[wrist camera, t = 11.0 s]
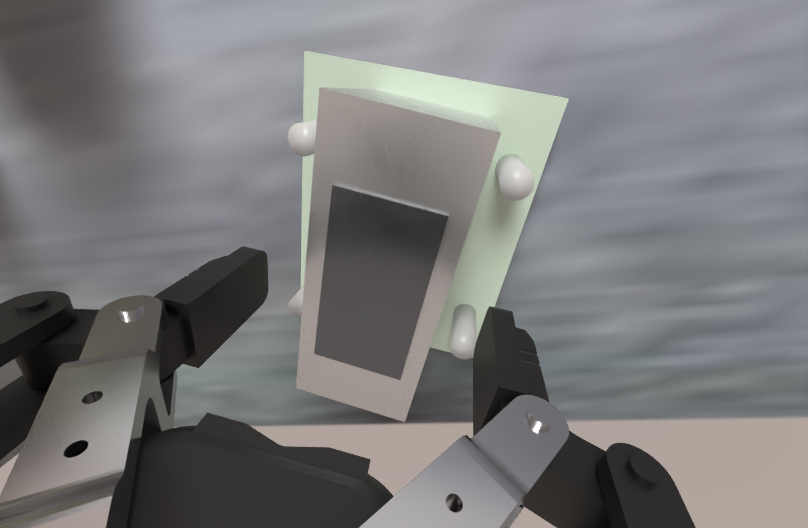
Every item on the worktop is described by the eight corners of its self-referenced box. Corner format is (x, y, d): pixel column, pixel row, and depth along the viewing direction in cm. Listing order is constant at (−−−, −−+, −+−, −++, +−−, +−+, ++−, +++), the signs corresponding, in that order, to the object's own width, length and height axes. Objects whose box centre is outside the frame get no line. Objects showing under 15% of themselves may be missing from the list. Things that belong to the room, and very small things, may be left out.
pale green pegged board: (475, 342, 21) (475, 399, 17) (310, 300, 22) (275, 346, 18) (560, 97, 14) (592, 99, 11) (318, 54, 15) (265, 41, 12)
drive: (376, 89, 14) (316, 87, 9) (491, 117, 14) (501, 133, 9) (343, 310, 20) (294, 390, 15) (423, 334, 20) (404, 425, 14)
